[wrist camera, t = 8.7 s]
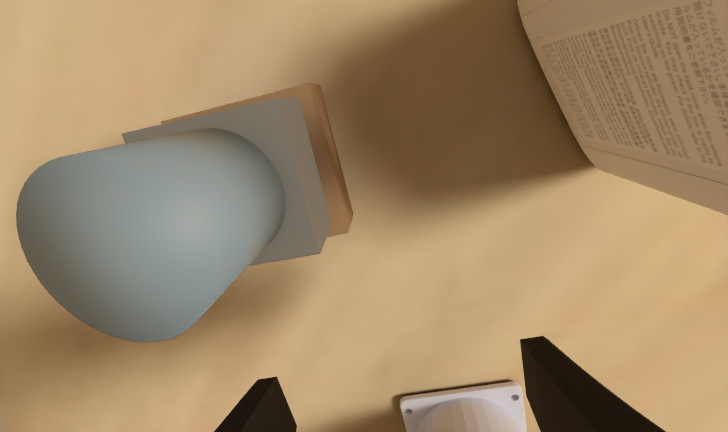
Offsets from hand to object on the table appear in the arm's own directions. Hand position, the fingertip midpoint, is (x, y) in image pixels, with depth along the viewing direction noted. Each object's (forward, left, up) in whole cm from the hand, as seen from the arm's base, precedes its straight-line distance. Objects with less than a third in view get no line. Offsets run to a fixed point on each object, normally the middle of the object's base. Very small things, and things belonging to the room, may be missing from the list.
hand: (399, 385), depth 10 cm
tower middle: (+6, +5, -8) cm, 11 cm away
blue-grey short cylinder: (+6, +5, -4) cm, 9 cm away
